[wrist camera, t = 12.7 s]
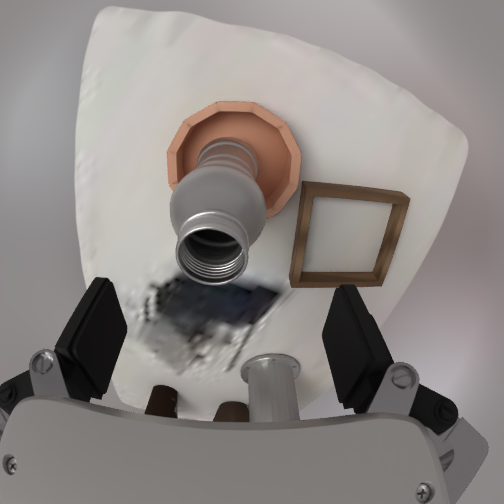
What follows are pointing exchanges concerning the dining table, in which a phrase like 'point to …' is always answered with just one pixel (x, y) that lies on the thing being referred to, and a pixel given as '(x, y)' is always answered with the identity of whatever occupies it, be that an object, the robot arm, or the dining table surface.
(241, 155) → the grey metal bulbous cylinder
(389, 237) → the brown picture frame
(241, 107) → the terracotta bowl
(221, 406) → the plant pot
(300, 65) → the dining table surface
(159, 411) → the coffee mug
